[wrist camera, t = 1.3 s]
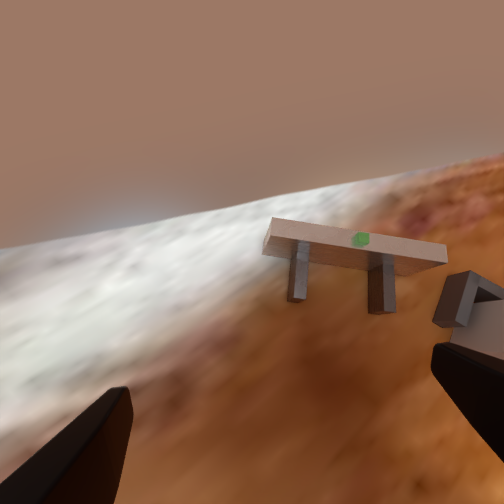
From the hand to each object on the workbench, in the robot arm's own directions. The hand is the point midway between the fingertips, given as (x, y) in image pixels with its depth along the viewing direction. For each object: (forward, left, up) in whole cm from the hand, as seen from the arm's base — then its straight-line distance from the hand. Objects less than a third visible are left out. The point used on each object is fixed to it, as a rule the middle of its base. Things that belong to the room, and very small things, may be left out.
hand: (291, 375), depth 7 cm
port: (+3, -9, -15) cm, 18 cm away
